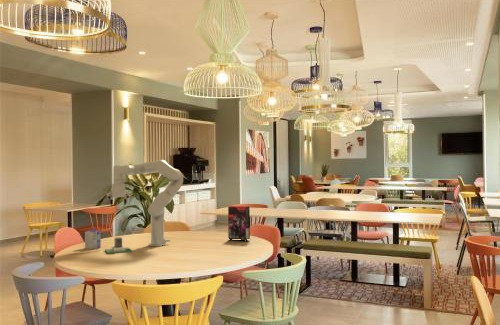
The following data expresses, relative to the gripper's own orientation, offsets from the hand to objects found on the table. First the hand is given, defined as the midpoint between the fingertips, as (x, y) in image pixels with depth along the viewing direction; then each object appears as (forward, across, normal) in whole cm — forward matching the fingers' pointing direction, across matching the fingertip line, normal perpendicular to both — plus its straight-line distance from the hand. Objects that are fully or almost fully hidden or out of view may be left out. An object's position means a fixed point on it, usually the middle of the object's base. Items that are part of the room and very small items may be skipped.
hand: (118, 204), depth 337 cm
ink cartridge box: (+31, +19, +5) cm, 36 cm away
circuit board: (+30, +5, +28) cm, 41 cm away
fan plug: (+29, +5, +29) cm, 41 cm away
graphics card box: (+30, -89, +24) cm, 97 cm away
